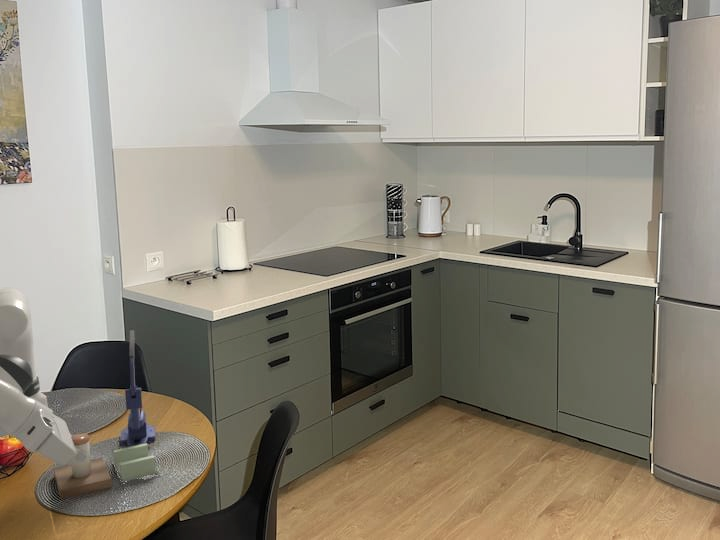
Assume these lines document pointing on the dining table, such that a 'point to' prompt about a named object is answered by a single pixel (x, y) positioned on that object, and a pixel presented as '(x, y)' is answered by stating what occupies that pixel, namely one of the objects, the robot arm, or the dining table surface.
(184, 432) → the dining table surface
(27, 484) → the dining table surface
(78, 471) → the mushroom
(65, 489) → the board
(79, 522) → the dining table surface
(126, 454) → the rack
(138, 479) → the mat
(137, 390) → the hand press
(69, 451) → the robot arm
